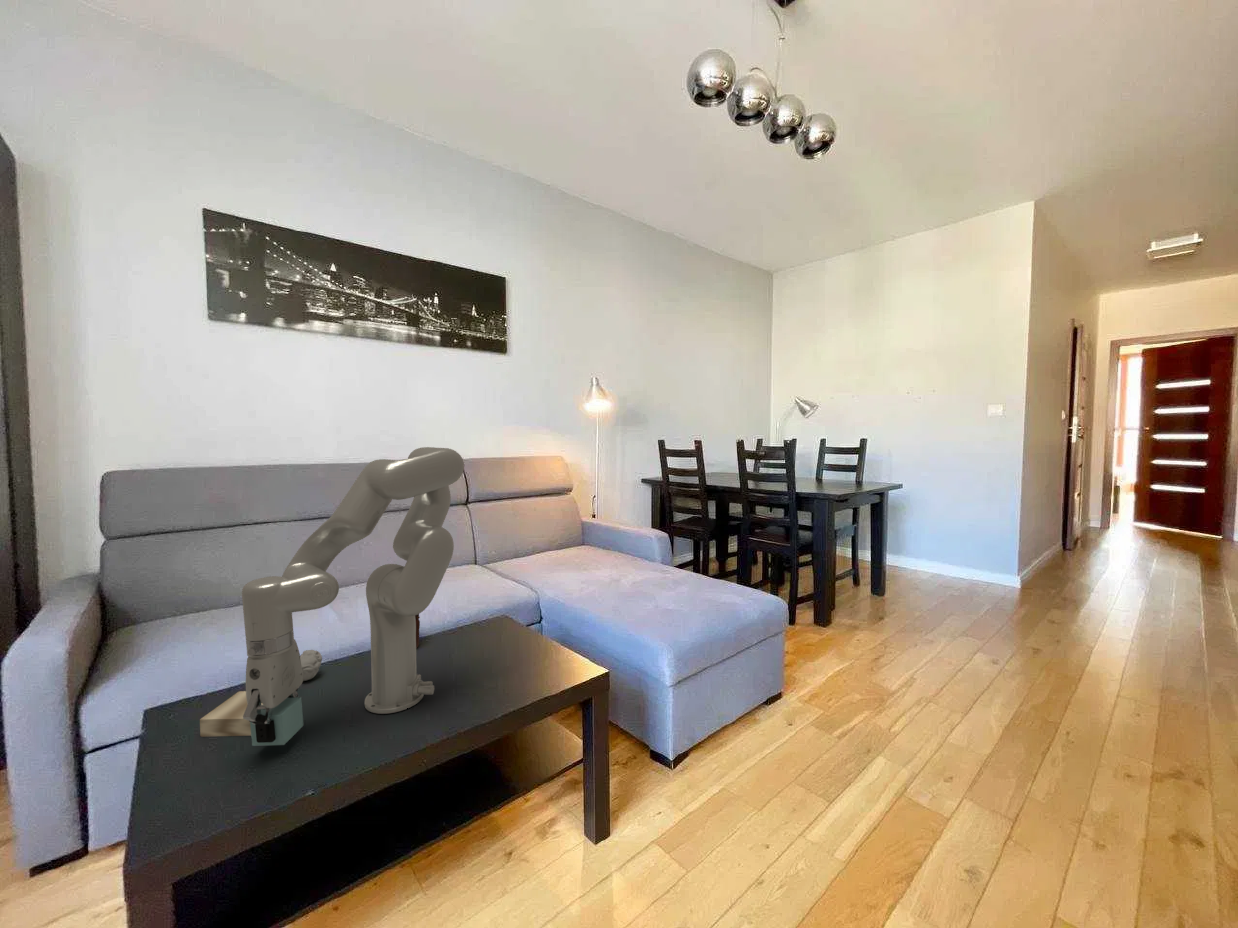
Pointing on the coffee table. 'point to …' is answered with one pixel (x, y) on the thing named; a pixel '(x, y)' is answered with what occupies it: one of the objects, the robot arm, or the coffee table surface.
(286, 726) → the teal cube
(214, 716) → the birch block
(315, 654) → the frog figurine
